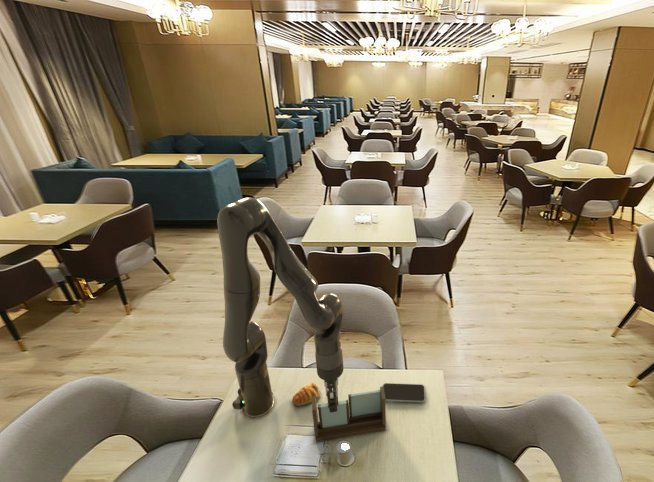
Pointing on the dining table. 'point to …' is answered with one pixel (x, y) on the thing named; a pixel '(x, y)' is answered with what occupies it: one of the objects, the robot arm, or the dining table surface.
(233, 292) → the robot arm
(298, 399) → the pastry
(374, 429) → the window frame
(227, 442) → the dining table surface
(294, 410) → the dining table surface
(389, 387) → the smartphone
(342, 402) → the sash
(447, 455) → the dining table surface
